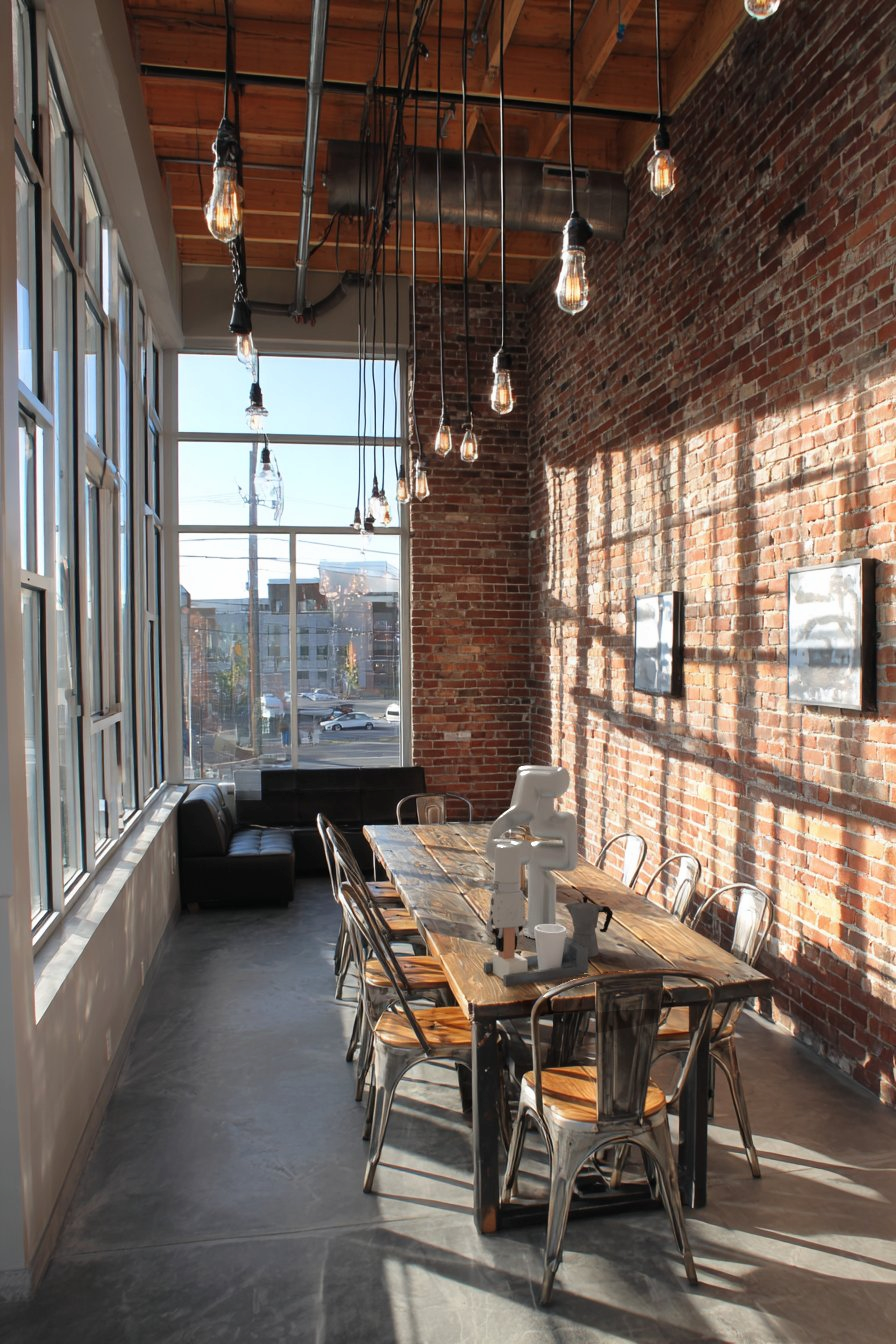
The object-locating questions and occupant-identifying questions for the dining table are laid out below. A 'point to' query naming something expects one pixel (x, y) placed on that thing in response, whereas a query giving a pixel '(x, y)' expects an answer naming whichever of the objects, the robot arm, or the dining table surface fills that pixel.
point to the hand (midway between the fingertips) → (506, 949)
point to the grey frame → (571, 966)
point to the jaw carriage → (508, 956)
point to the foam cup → (549, 945)
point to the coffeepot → (587, 923)
